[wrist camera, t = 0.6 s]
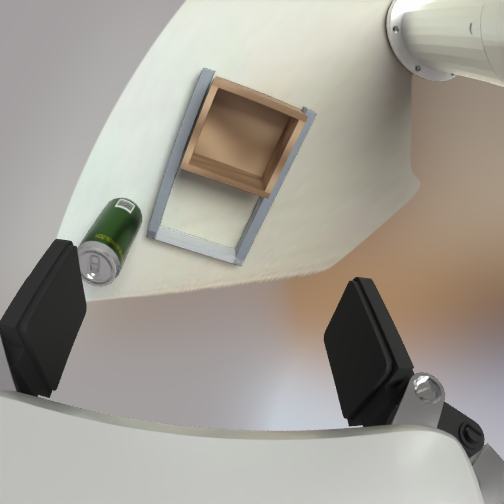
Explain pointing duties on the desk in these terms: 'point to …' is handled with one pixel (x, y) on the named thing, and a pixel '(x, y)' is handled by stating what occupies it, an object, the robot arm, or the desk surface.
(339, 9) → the desk surface
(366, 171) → the desk surface
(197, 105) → the bay
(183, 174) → the desk surface
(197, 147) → the crate
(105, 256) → the green soda can
